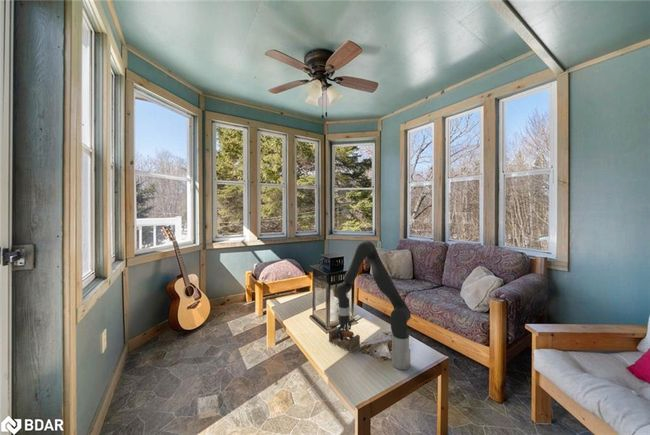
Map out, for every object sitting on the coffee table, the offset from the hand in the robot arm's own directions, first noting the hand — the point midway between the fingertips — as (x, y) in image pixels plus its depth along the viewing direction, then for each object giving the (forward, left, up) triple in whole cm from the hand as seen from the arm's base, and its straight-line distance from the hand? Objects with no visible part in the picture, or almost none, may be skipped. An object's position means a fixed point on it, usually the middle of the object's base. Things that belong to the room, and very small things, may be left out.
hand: (344, 338), depth 165 cm
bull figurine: (0, 0, -2) cm, 2 cm away
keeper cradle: (0, 0, -4) cm, 4 cm away
